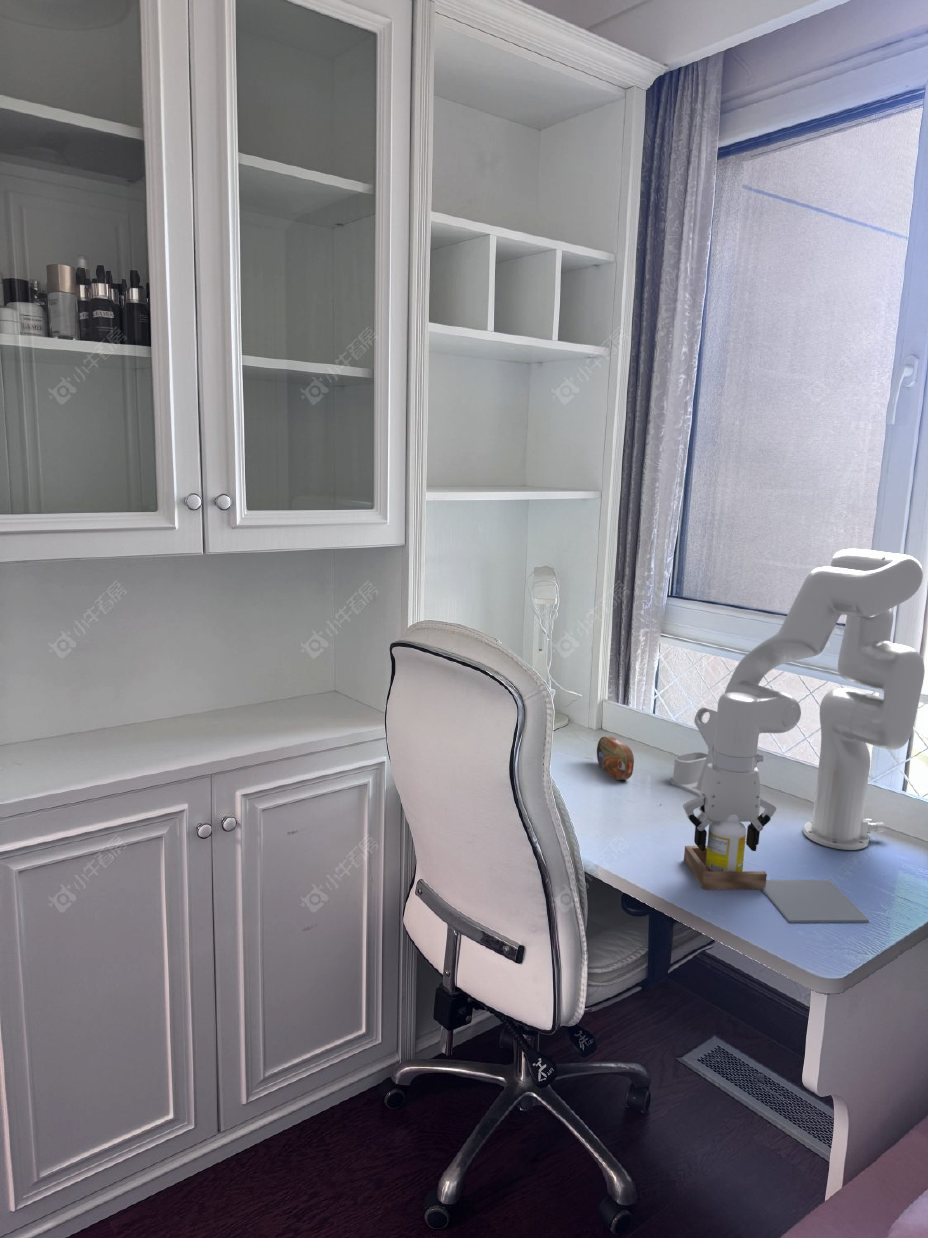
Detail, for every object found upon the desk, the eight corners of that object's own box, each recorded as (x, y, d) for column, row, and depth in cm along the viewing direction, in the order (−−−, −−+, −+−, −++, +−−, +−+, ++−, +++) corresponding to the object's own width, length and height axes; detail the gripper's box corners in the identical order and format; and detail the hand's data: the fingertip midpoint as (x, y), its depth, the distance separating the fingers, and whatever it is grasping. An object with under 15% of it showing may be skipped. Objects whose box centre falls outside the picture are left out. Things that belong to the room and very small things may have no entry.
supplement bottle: (734, 866, 164) (740, 803, 162) (747, 883, 158) (753, 817, 156) (700, 866, 164) (705, 802, 162) (711, 883, 158) (717, 817, 155)
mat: (828, 882, 160) (829, 880, 159) (868, 922, 146) (869, 920, 146) (755, 882, 158) (755, 880, 158) (788, 922, 145) (789, 920, 145)
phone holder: (667, 781, 207) (673, 709, 204) (697, 774, 213) (703, 704, 209) (723, 807, 193) (730, 730, 190) (753, 799, 198) (761, 724, 195)
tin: (594, 763, 218) (596, 732, 216) (606, 763, 219) (608, 731, 217) (622, 785, 204) (625, 751, 202) (634, 784, 205) (637, 750, 203)
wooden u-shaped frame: (740, 860, 167) (742, 846, 166) (765, 889, 156) (766, 874, 155) (683, 860, 166) (684, 846, 166) (703, 889, 155) (705, 874, 154)
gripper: (771, 754, 161) (762, 839, 164) (681, 753, 160) (674, 839, 163) (789, 768, 154) (779, 857, 157) (694, 767, 153) (686, 857, 156)
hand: (725, 848), depth 160 cm, fingers open, 9 cm apart
